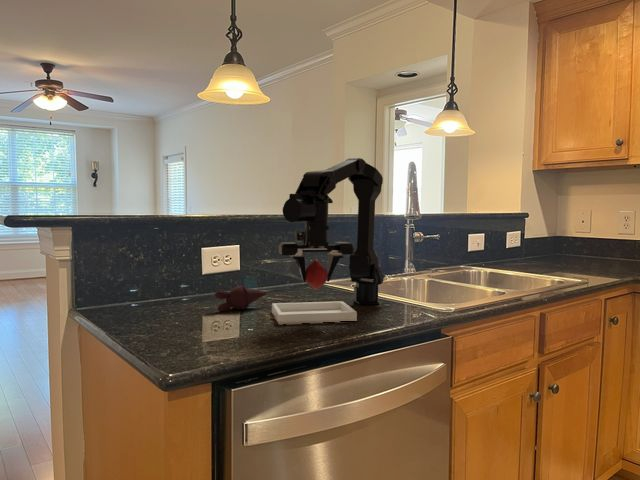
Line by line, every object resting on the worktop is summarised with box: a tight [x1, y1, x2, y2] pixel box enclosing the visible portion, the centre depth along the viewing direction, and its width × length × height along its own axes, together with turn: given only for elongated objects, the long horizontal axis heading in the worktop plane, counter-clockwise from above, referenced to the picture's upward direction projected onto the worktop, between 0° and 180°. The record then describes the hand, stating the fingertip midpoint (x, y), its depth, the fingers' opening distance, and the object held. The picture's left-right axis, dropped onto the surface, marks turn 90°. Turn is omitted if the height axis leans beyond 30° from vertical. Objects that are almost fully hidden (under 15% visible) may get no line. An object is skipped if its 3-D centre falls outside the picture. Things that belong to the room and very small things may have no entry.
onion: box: [305, 258, 327, 291], centre depth 121 cm, size 6×6×8 cm
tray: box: [271, 300, 358, 326], centre depth 124 cm, size 20×13×2 cm, turn 103°
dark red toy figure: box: [214, 284, 267, 313], centre depth 132 cm, size 7×7×15 cm
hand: (315, 281), depth 122 cm, fingers closed on onion, 6 cm apart
